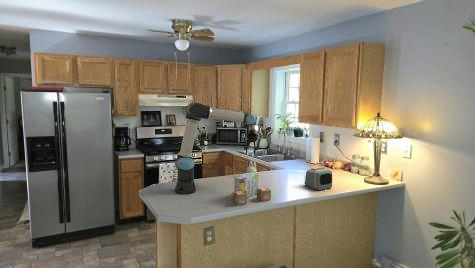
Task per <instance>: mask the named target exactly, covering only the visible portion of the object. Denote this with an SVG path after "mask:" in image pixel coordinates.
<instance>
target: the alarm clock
mask: <svg viewBox="0 0 475 268" xmlns="http://www.w3.org/2000/svg"><path fill="white" fill-rule="evenodd" d="M304 177H305V178H304V186H306V187H309V188H311V189H313V190H315V191H316V190H317V191H322V190H327V189H331V188H333V171H332V170H331V169H327V168H326V167H323V166H313V167H311V168H310V169H307V170H306V172H305V176H304Z"/></svg>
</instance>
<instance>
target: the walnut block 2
mask: <svg viewBox="0 0 475 268" xmlns="http://www.w3.org/2000/svg"><path fill="white" fill-rule="evenodd" d="M271 198H272V190H271V189H269V188H267V187H258V188H257V194H256V199H257V200H258V199H259V200H258V201H260V202H266V201H268V200H269V201H271Z"/></svg>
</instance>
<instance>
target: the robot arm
mask: <svg viewBox="0 0 475 268" xmlns="http://www.w3.org/2000/svg"><path fill="white" fill-rule="evenodd" d="M184 119H185V121H186V122H185V127H184V132H183V136H182V141H181V144H180V145H181V147H180V151H179V152H178V153H177V156H176V159H175V161H174V166H175V169H176V171H177V172H176V174H177V175H176V176H177V181H176V184H175V186H174V192H175V193H176V194H179V195H190V194H195V193H196V192H197V187H196V183H195V161H194V159H193V154H192V152H193V148H194V143H195V139H196V134H197V129H198V124H199V123H200V122H201V120H202V119H204V120H209V119H214V120H220V121H227V122H232V123H233V122H234V123H241V124H244V125H245V124H246V125H248V126H249V127H248V134H247V137H243V150H245V154H246V159H248V158H249V152H250V150H249V148H250V145H251V143H252V144H253V149H252V154H251V157H252V159H254V156H255V155H256V152H257V151H259V148H260V143H261V141H262V139H261V138H259V135H258V134H259V129H260V128H259V127H260V123H261V122H260V120H261V119H260V116H259V115H257V114H251V113H247V112H245V111H242V110H239V111H234V110H227V109H223V108H222V109H221V108H215V107H211V106H210V105H207V104H202V103H200V102H197V101H192V102H189V103H188V104H187V105H186V108H185V118H184ZM247 141H248V142H247ZM256 142H257V144H256Z"/></svg>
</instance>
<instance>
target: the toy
mask: <svg viewBox="0 0 475 268" xmlns="http://www.w3.org/2000/svg"><path fill="white" fill-rule="evenodd" d="M248 163H249V165H248V167H247V168H246V172H244V173H242V174H241V175H240V176H242V175H246V174H249V173H252V172H254V173H257V164H256V163H257V162H256V161H255V160H254V161H252V160H250V161H249V162H248Z"/></svg>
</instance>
